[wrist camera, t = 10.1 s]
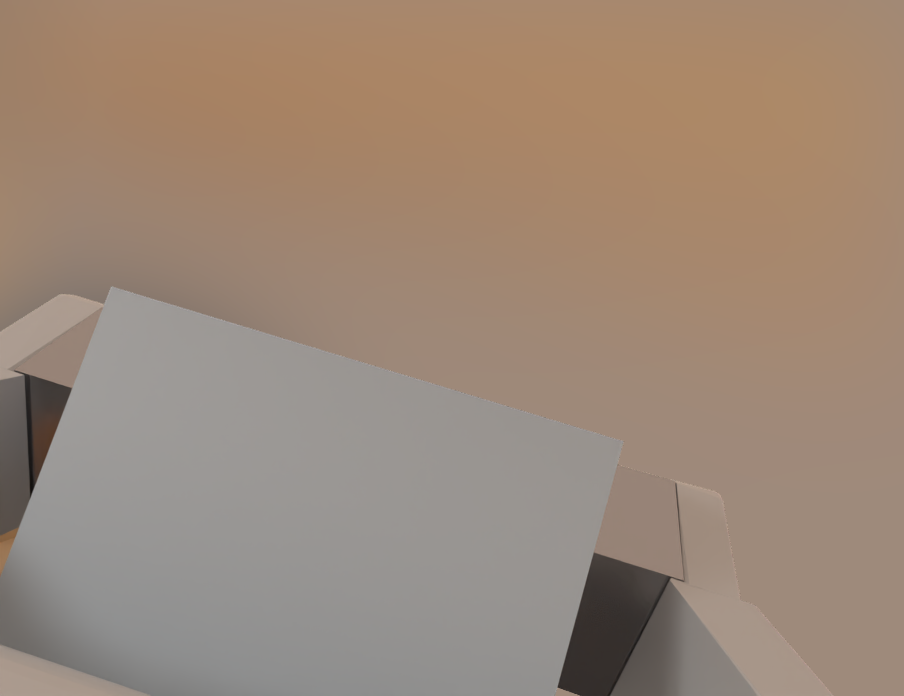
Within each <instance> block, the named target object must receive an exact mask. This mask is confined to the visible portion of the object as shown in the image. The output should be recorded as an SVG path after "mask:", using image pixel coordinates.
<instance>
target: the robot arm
mask: <svg viewBox="0 0 904 696" xmlns="http://www.w3.org/2000/svg"><path fill="white" fill-rule="evenodd" d="M103 307H104V304H102V303H99V302H95V301H92V300H88V299H85V298H82V297H79V296H75V295H68V294H60V295H58V296H56V297H55V298H53V299H52V300H50V301H48V302H47V303H45V304H44V305H42V306H41V307H39V308H37V309H36V310H34V311H33V312H31V313H29V314H28V315H26V316H25V317H23V318H22V319H20V320H18V321H17V322H15V323H13V324H12V325H10V326H9V327H7V328H6V329H4V330H2V331H1V332H0V536H1V535H3V534H5V533H7V532H10V531H12V530H14V529H16V528H18V527H20V524H21V521H22V519H23V516H24V514H25V511H26V508H27V506H28V503H29V500H30V498H31V495H32V493H33V490H34V487H35V485H36V482H37V479H38V477H39V474H40V472H41V469H42V466H43V464H44V461H45V459H46V456H47V453H48V451H49V448H50V445H51V443H52V440H53V438H54V435H55V432H56V430H57V427H58V424H59V422H60V419H61V417H62V414H63V411H64V409H65V406H66V404H67V401H68V398H69V396H70V393H71V390H72V388H73V385H74V383H75V380H76V377H77V375H78V372H79V369H80V367H81V364H82V362H83V359H84V356H85V354H86V351H87V349H88V346H89V343H90V341H91V338H92V335H93V333H94V330H95V328H96V325H97V322H98V320H99V317H100V314H101V312H102V309H103ZM558 688H561V689H563V690H566V691H569V692H572V693H574V694H578V695H580V696H833V694H832V693H831V692H830V691H829V690H828V689H827V688H826V686H825V685H824V684H823V683H822V682H821V681H820V680H819V678H818V677H817V676H816V675H815V674H814V672H813V671H812V670H811V669H810V668H809V667H808V666H807V664H806V663H805V662H804V661H803V660H802V659H801V657H799V655H798V654H797V653H796V652H795V651H794V650H793V648H792V647H791V646H790V645H789V644H788V642H787V641H786V640H785V639H784V638H783V637H782V636H781V634H780V633H779V632H778V631H777V630H776V629H775V627H774V626H773V625H772V624H771V623H770V622H769V621H768V620H767V618H766V617H765V616H764V615H763V614H762V612H761V611H760V610H759V609H758V608H757V607H756V606H755V605H754V604H751V603H747V602H744V601H742V600H741V599H740V593H739V587H738V582H737V576H736V571H735V566H734V560H733V554H732V548H731V543H730V537H729V532H728V526H727V521H726V515H725V510H724V505H723V499H722V497H721V496H720V495H719V494H718V492H716V491H713V490H709V489H705V488H701V487H698V486H694V485H690V484H686V483H683V482H679V481H676V480H669V479H666V478H662V477H659V476H655V475H652V474H648V473H645V472H641V471H638V470H634V469H631V468H628V467H624V466H621V465H617V468H616V471H615V475H614V479H613V483H612V486H611V490H610V494H609V497H608V501H607V505H606V509H605V512H604V516H603V520H602V523H601V527H600V531H599V534H598V538H597V542H596V546H595V549H594V553H593V557H592V560H591V564H590V568H589V572H588V575H587V579H586V583H585V586H584V590H583V594H582V598H581V601H580V605H579V609H578V612H577V616H576V620H575V624H574V627H573V631H572V635H571V638H570V642H569V646H568V650H567V653H566V657H565V661H564V664H563V668H562V672H561V676H560V679H559V683H558ZM0 696H151V695H149V694H146V693H143V692H140V691H137V690H134V689H131V688H128V687H125V686H122V685H119V684H116V683H113V682H110V681H107V680H104V679H101V678H98V677H95V676H92V675H89V674H86V673H83V672H80V671H77V670H74V669H71V668H68V667H66V666H63V665H60V664H57V663H54V662H51V661H48V660H45V659H42V658H39V657H36V656H33V655H30V654H27V653H24V652H21V651H18V650H15V649H12V648H9V647H6V646H3V645H0Z"/></svg>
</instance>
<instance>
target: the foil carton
mask: <svg viewBox="0 0 904 696" xmlns="http://www.w3.org/2000/svg"><path fill="white" fill-rule="evenodd" d="M622 445H623V441H621V440H617V439H614V438H611V437H608V436H604V435H601V434H598V433H594V432H591V431H588V430H584V429H581V428H578V427H575V426H571V425H568V424H565V423H561V422H558V421H555V420H551V419H548V418H545V417H542V416H538V415H535V414H532V413H528V412H525V411H522V410H518V409H515V408H512V407H509V406H505V405H502V404H499V403H495V402H492V401H488V400H485V399H482V398H479V397H475V396H472V395H469V394H466V393H462V392H459V391H456V390H452V389H449V388H446V387H442V386H439V385H436V384H433V383H429V382H426V381H422V380H419V379H415V378H413V377H409V376H406V375H402V374H399V373H396V372H393V371H390V370H386V369H383V368H379V367H376V366H372V365H369V364H366V363H363V362H360V361H356V360H353V359H350V358H346V357H343V356H340V355H336V354H333V353H330V352H327V351H323V350H320V349H317V348H313V347H310V346H307V345H304V344H300V343H297V342H294V341H290V340H287V339H284V338H280V337H277V336H274V335H270V334H267V333H264V332H260V331H257V330H254V329H251V328H247V327H244V326H241V325H237V324H234V323H231V322H227V321H224V320H221V319H217V318H214V317H211V316H207V315H204V314H201V313H198V312H194V311H191V310H188V309H185V308H181V307H178V306H174V305H171V304H168V303H165V302H161V301H158V300H155V299H151V298H148V297H145V296H141V295H138V294H135V293H132V292H128V291H125V290H122V289H118V288H115V287H112V286H111V288H110V291H109V294H108V296H107V299H106V301H105V304H104V307H103V309H102V312H101V314H100V317H99V320H98V322H97V325H96V328H95V330H94V333H93V335H92V338H91V341H90V343H89V346H88V349H87V351H86V354H85V356H84V359H83V362H82V364H81V367H80V369H79V372H78V375H77V377H76V380H75V383H74V385H73V388H72V390H71V393H70V396H69V398H68V401H67V404H66V406H65V409H64V411H63V414H62V417H61V419H60V422H59V424H58V427H57V430H56V432H55V435H54V438H53V440H52V443H51V445H50V448H49V451H48V453H47V456H46V459H45V461H44V464H43V466H42V469H41V472H40V474H39V477H38V479H37V482H36V485H35V487H34V490H33V493H32V495H31V498H30V500H29V503H28V506H27V508H26V511H25V514H24V516H23V519H22V521H21V524H20V527H19V529H18V532H17V534H16V537H15V540H14V542H13V545H12V548H11V550H10V553H9V555H8V558H7V561H6V563H5V566H4V569H3V571H2V574H1V576H0V645H3V646H6V647H9V648H12V649H15V650H18V651H21V652H24V653H27V654H30V655H33V656H36V657H39V658H42V659H45V660H48V661H51V662H54V663H57V664H60V665H63V666H66V667H68V668H71V669H74V670H77V671H80V672H83V673H86V674H89V675H92V676H95V677H98V678H101V679H104V680H107V681H110V682H113V683H116V684H119V685H122V686H125V687H128V688H131V689H134V690H137V691H140V692H143V693H146V694H149V695H151V696H555V694H556V690H557V687H558V683H559V679H560V676H561V672H562V668H563V664H564V661H565V657H566V653H567V650H568V646H569V642H570V638H571V635H572V631H573V627H574V624H575V620H576V616H577V612H578V609H579V605H580V601H581V598H582V594H583V590H584V586H585V583H586V579H587V575H588V572H589V568H590V564H591V560H592V557H593V553H594V549H595V546H596V542H597V538H598V534H599V531H600V527H601V523H602V520H603V516H604V512H605V509H606V505H607V501H608V497H609V494H610V490H611V486H612V483H613V479H614V475H615V471H616V468H617V464H618V460H619V456H620V453H621V449H622Z"/></svg>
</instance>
